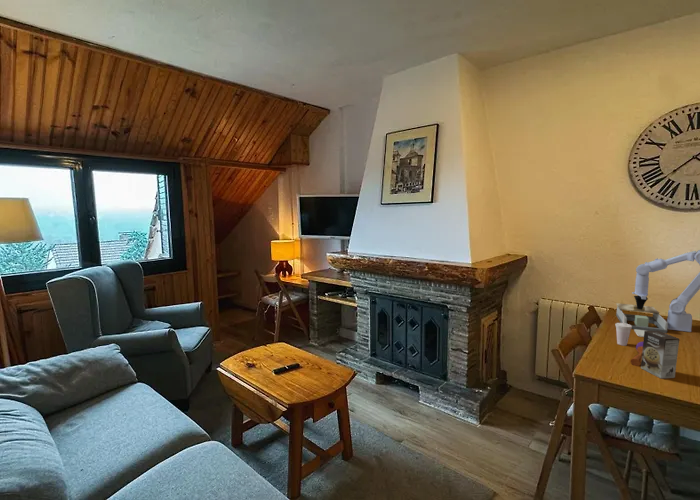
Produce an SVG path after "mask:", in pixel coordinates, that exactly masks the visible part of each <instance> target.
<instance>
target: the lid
mask: <svg viewBox="0 0 700 500" xmlns="http://www.w3.org/2000/svg"><path fill="white" fill-rule="evenodd" d="M615 304H616V307H619V309H620V310H621V311H628V312H629V311H630V312H639V313H647V314H648V313H649V314H653V313H657V314H659V315H660V312H659V311H658V310H657V309H656V308H655V307H654V306H649V305H644V307H643V309H637V305H636V304H628V303H619V302H617V303H615Z"/></svg>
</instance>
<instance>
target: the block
mask: <svg viewBox="0 0 700 500" xmlns="http://www.w3.org/2000/svg"><path fill="white" fill-rule="evenodd" d="M634 315H635V321H634V325H635V326H643V327H649V323H648V322H649V318H648V317H647V316H648V315H641V316H639V315H640V314H639V315H638V314H634Z"/></svg>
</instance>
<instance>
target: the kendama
mask: <svg viewBox="0 0 700 500" xmlns="http://www.w3.org/2000/svg"><path fill="white" fill-rule="evenodd" d="M635 349H636V351H637V353H638V354H637V355H635V356H634V357H633V358H631V359H630V364H631V365H632V366H635V367H641V362H642V352H643V341H639V342H637V344H636V346H635Z"/></svg>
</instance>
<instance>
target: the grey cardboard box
mask: <svg viewBox="0 0 700 500" xmlns="http://www.w3.org/2000/svg"><path fill="white" fill-rule="evenodd" d="M642 342H643V352H642V359H641V364H640V369H642V370H643V371H645V372H647V373H650V374H651V375H653V376H655V377H657V378H659V379H674V378H676V369H677V361H678V353H679V347H680V345H679V344H680V338H678V337H676V336H673V335H670V334H668V333H663V332H660V331H644V337H643V341H642Z"/></svg>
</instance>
